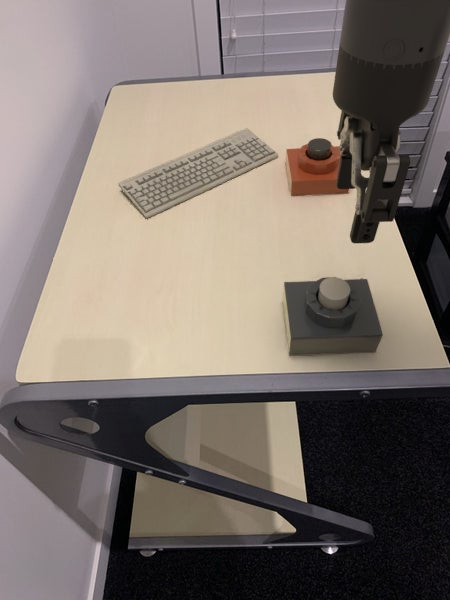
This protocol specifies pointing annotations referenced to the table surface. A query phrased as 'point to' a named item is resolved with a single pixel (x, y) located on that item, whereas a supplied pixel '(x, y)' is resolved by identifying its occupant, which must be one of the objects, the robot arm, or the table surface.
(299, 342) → the push button box
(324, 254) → the table surface
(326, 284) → the grey cylindrical knob
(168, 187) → the keyboard
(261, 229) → the table surface
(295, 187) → the button base
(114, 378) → the table surface
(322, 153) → the black button cap
